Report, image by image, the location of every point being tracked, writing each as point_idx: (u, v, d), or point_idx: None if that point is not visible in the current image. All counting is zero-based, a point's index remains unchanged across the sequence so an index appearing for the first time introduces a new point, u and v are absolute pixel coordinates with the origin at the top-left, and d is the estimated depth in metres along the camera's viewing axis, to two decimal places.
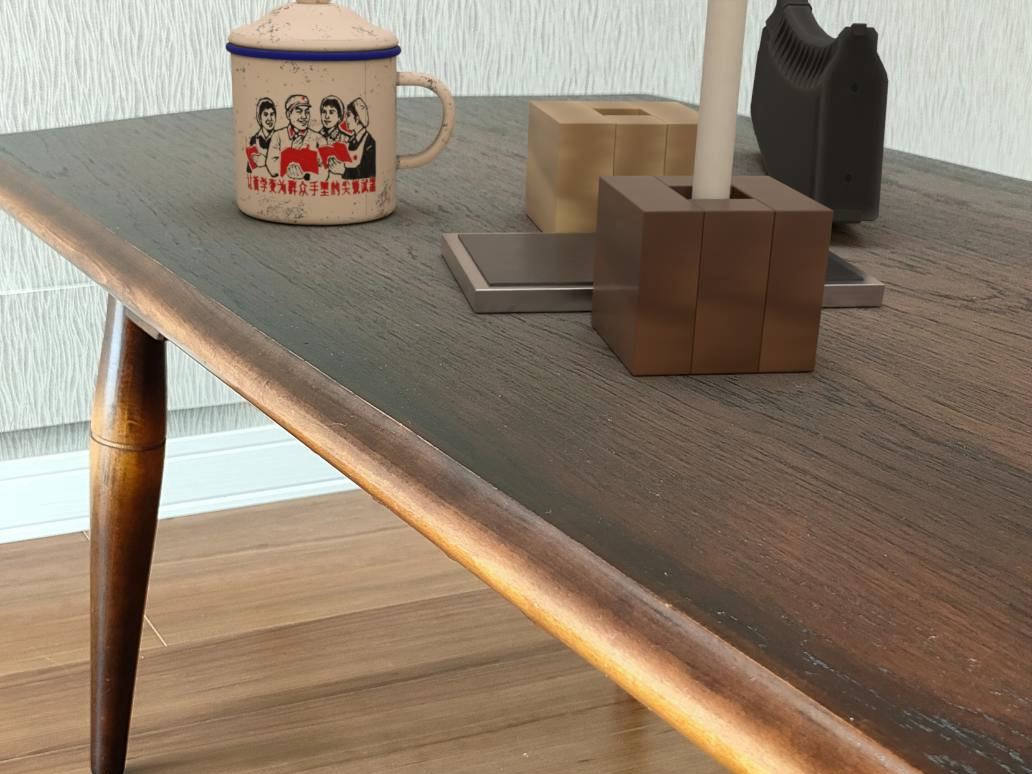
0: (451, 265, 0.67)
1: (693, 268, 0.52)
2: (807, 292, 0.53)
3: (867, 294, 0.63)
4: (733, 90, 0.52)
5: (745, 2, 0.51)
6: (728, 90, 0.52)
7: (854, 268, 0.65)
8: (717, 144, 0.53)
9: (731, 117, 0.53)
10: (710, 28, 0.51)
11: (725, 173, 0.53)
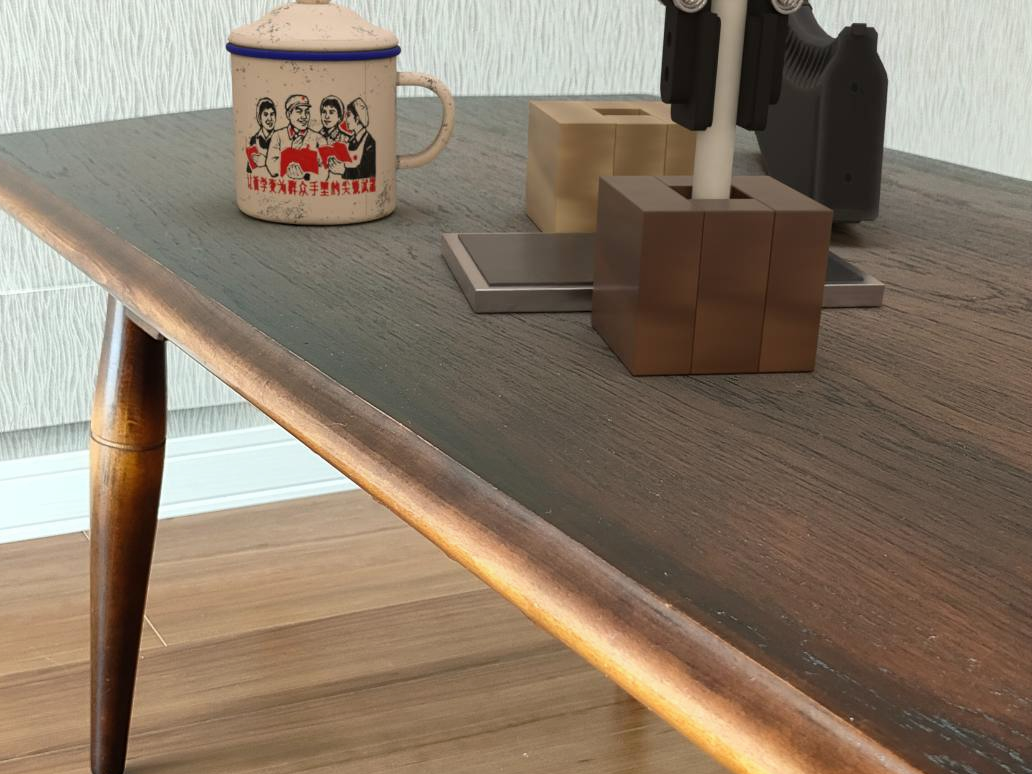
0: (451, 265, 0.67)
1: (693, 268, 0.52)
2: (807, 292, 0.53)
3: (867, 294, 0.63)
4: (733, 90, 0.52)
5: (745, 2, 0.51)
6: (728, 90, 0.52)
7: (854, 268, 0.65)
8: (717, 144, 0.53)
9: (731, 117, 0.53)
10: None
11: (725, 173, 0.53)
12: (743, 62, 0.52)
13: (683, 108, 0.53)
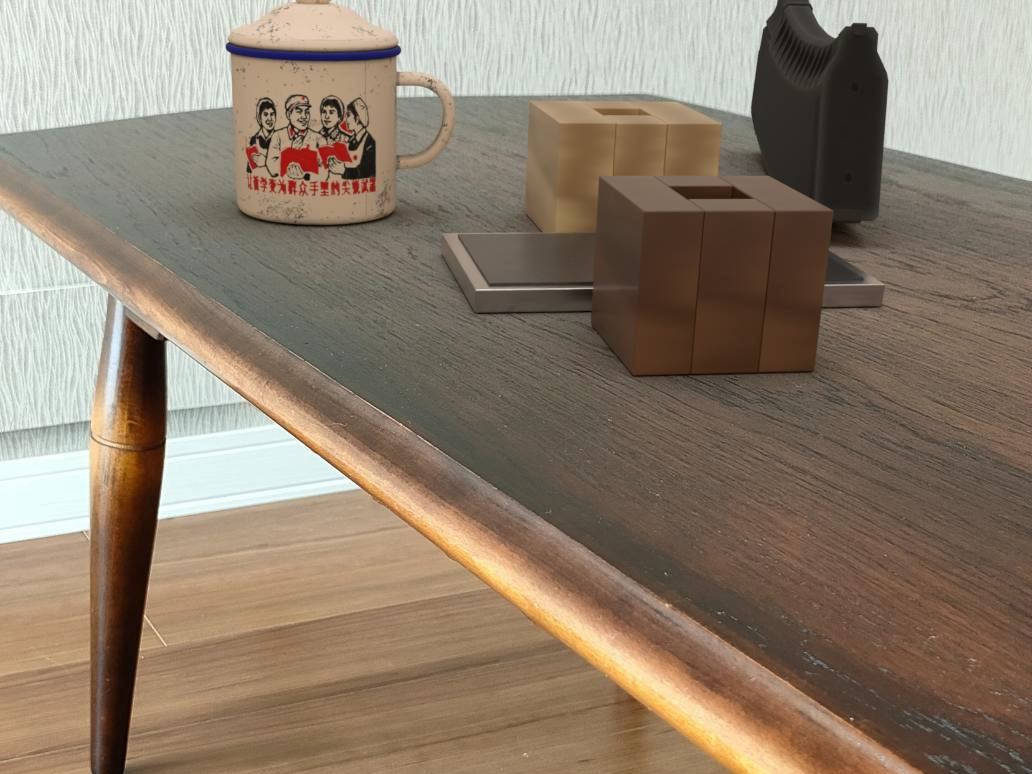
0: (451, 265, 0.67)
1: (693, 268, 0.52)
2: (807, 292, 0.53)
3: (867, 294, 0.63)
4: None
5: None
6: None
7: (854, 268, 0.65)
8: None
9: None
10: None
11: None
12: None
13: None
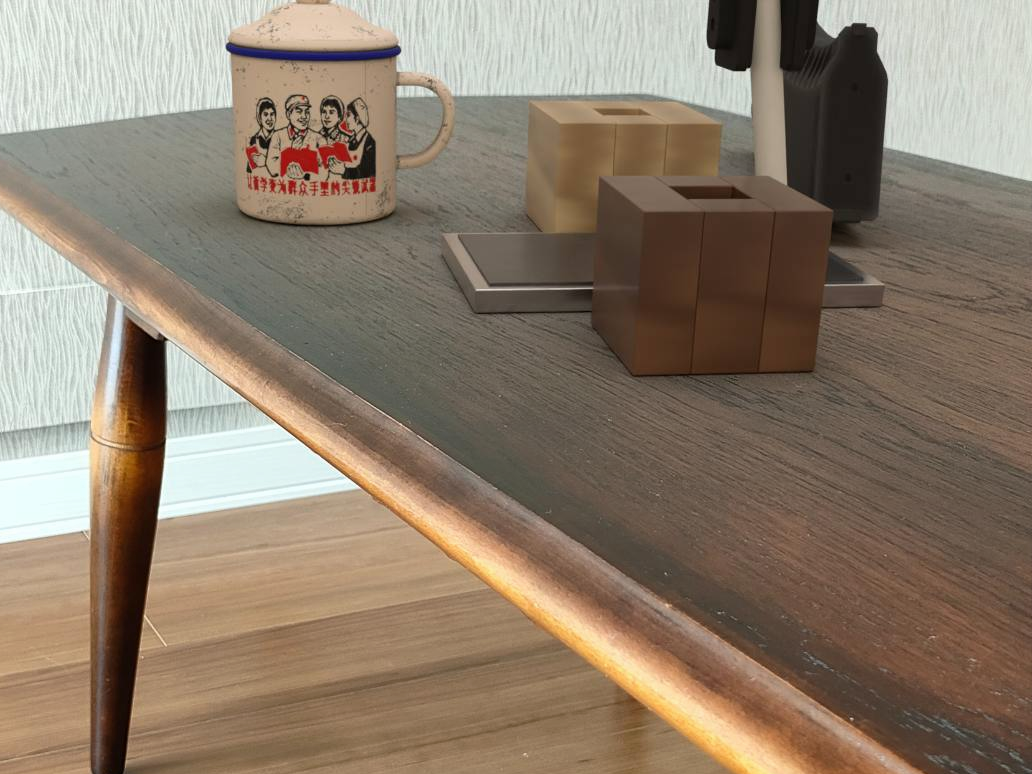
0: (451, 265, 0.67)
1: (693, 268, 0.52)
2: (807, 292, 0.53)
3: (867, 294, 0.63)
4: (776, 33, 0.63)
5: None
6: (772, 34, 0.62)
7: (854, 268, 0.65)
8: (769, 80, 0.63)
9: (778, 56, 0.63)
10: None
11: (778, 103, 0.64)
12: (783, 14, 0.62)
13: (726, 53, 0.63)
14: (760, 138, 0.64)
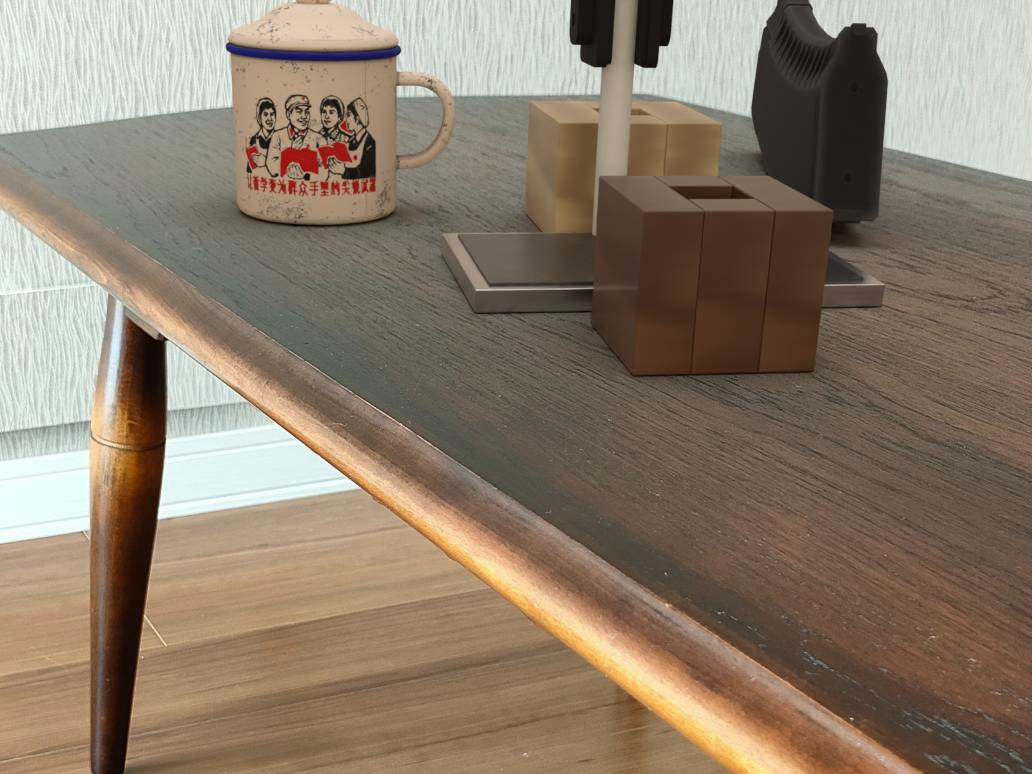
0: (451, 265, 0.67)
1: (693, 268, 0.52)
2: (807, 292, 0.53)
3: (867, 294, 0.63)
4: (631, 28, 0.61)
5: None
6: (626, 28, 0.61)
7: (854, 268, 0.65)
8: (618, 74, 0.62)
9: (630, 51, 0.62)
10: None
11: (625, 99, 0.63)
12: (638, 9, 0.61)
13: (588, 49, 0.62)
14: (603, 132, 0.63)
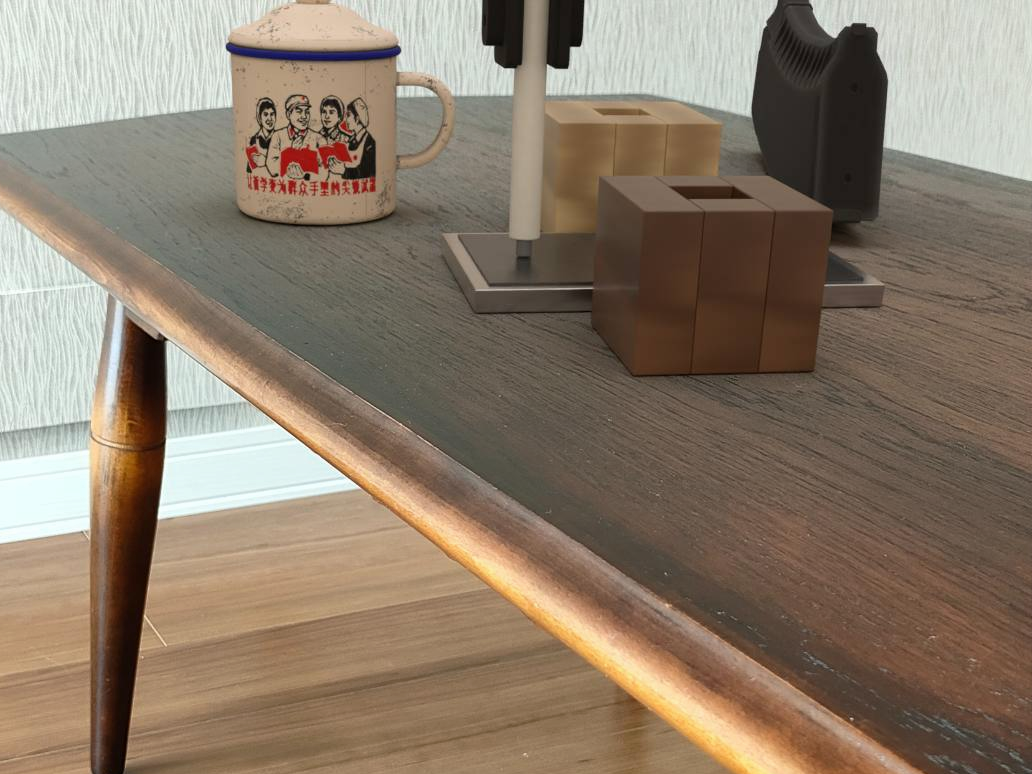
0: (451, 265, 0.67)
1: (693, 268, 0.52)
2: (807, 292, 0.53)
3: (867, 294, 0.63)
4: (542, 28, 0.61)
5: None
6: (537, 28, 0.61)
7: (854, 268, 0.65)
8: (530, 75, 0.61)
9: (541, 51, 0.61)
10: None
11: (538, 100, 0.62)
12: (549, 9, 0.61)
13: (500, 50, 0.61)
14: (517, 134, 0.63)
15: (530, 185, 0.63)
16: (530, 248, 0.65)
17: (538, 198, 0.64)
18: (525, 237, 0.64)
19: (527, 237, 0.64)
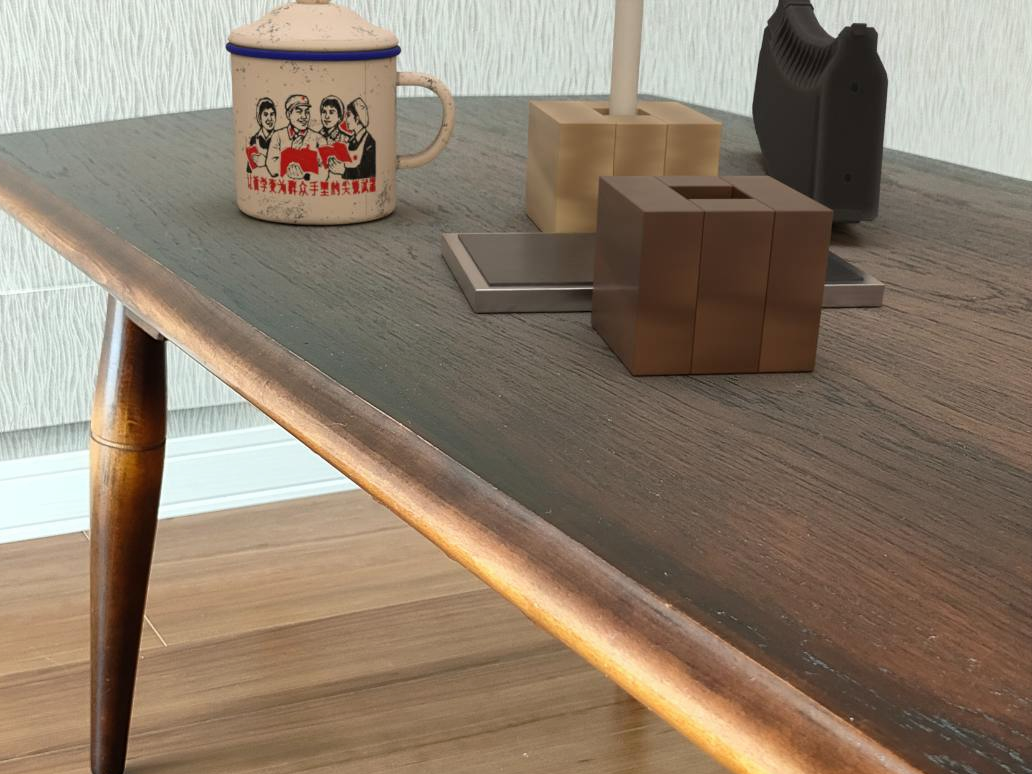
0: (451, 265, 0.67)
1: (693, 268, 0.52)
2: (807, 292, 0.53)
3: (867, 294, 0.63)
4: (636, 36, 0.72)
5: None
6: (632, 35, 0.72)
7: (854, 268, 0.65)
8: (625, 75, 0.73)
9: (635, 55, 0.73)
10: None
11: (631, 96, 0.73)
12: None
13: None
14: None
15: None
16: None
17: None
18: None
19: None
